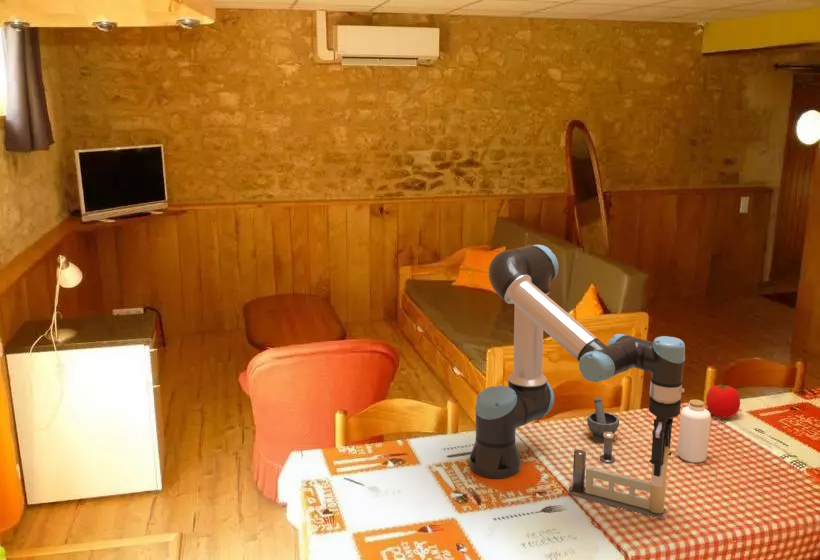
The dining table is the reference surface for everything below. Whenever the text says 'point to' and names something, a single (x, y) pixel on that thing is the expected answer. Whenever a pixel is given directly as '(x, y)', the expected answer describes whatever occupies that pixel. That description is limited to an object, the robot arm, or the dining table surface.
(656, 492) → the slotted fence panel
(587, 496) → the strip
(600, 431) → the mortar and pestle
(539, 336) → the robot arm
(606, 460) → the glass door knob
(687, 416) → the potion bottle
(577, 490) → the brown knob post
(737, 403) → the tomato
